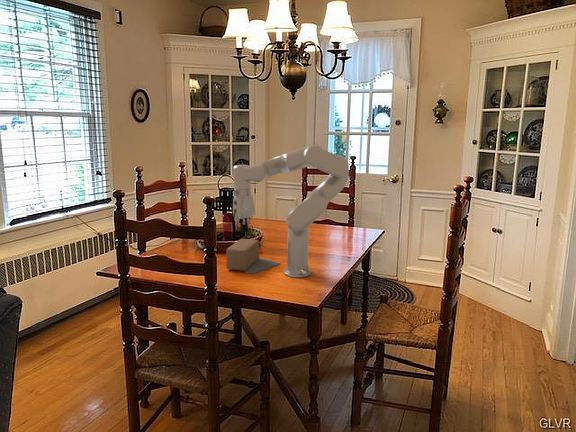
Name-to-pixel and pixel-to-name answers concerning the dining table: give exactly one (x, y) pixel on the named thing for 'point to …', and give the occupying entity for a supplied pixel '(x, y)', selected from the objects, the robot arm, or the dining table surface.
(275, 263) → the mat
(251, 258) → the wooden block
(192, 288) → the dining table surface
